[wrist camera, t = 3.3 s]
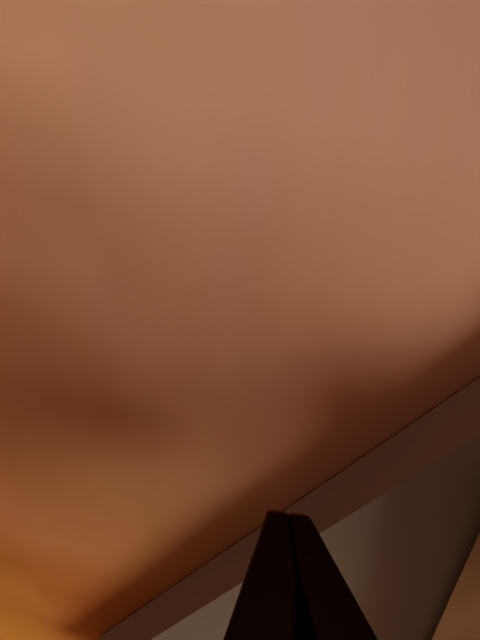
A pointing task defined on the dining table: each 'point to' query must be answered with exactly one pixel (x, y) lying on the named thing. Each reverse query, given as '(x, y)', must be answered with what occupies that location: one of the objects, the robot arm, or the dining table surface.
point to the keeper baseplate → (362, 535)
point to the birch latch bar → (463, 603)
